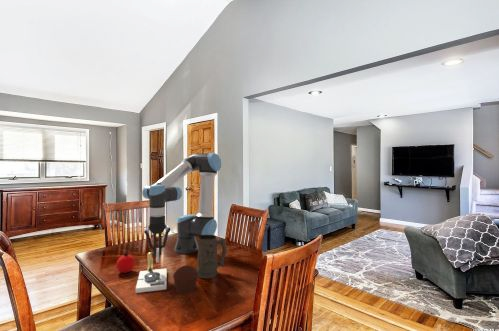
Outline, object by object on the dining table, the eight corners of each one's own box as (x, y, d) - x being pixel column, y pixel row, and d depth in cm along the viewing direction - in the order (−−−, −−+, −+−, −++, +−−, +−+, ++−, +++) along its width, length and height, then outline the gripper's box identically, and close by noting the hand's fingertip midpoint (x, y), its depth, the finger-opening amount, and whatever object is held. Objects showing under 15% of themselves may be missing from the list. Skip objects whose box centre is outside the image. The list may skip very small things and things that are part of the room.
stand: (166, 272, 141) (166, 265, 141) (166, 289, 122) (166, 280, 122) (139, 275, 137) (139, 267, 137) (135, 293, 118) (135, 284, 118)
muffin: (199, 293, 119) (199, 271, 118) (173, 296, 115) (173, 273, 115) (196, 282, 130) (197, 261, 130) (173, 284, 127) (173, 263, 127)
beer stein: (198, 280, 132) (201, 239, 132) (192, 272, 141) (195, 234, 141) (227, 276, 139) (230, 238, 139) (219, 269, 148) (222, 233, 149)
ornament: (117, 277, 135) (117, 257, 135) (115, 270, 142) (115, 252, 142) (136, 273, 140) (136, 254, 139) (133, 267, 147) (133, 249, 147)
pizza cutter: (161, 279, 126) (161, 259, 126) (145, 282, 123) (145, 261, 123) (156, 270, 138) (157, 251, 138) (142, 272, 134) (142, 253, 134)
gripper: (169, 213, 141) (169, 257, 142) (143, 214, 137) (143, 260, 137) (171, 215, 135) (171, 262, 135) (143, 217, 130) (144, 266, 130)
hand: (157, 261), depth 136 cm, fingers closed
